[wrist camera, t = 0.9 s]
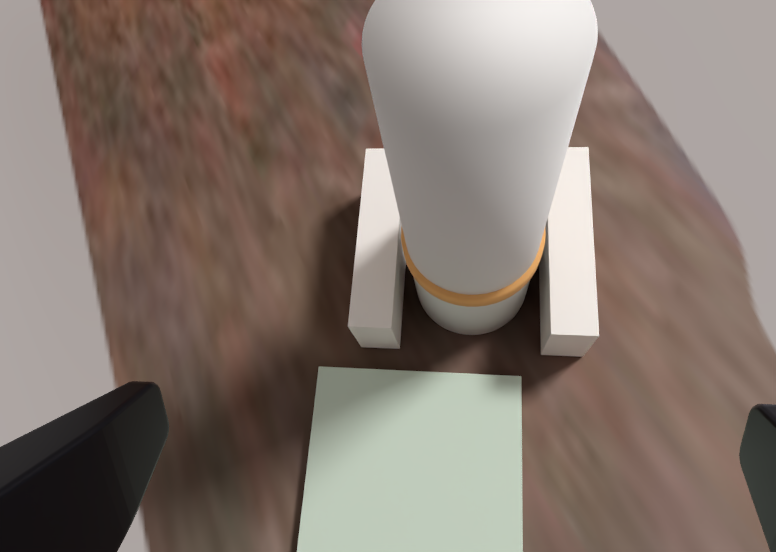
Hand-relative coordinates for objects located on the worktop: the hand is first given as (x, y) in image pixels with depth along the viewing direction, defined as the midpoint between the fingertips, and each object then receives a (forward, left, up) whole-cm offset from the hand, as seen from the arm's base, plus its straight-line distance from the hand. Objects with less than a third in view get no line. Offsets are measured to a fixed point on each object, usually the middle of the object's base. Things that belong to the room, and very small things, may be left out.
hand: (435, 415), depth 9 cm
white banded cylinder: (+6, -4, -14) cm, 16 cm away
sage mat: (0, +2, -14) cm, 14 cm away
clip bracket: (+6, -4, -14) cm, 16 cm away
